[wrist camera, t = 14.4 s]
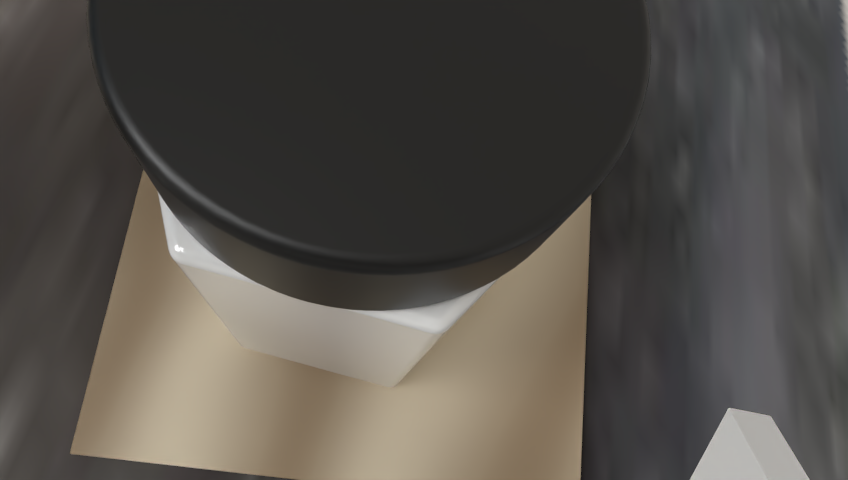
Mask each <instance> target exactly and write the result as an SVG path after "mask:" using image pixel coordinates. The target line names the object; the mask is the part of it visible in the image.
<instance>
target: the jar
mask: <svg viewBox="0 0 848 480" xmlns="http://www.w3.org/2000/svg"><path fill="white" fill-rule="evenodd" d="M86 17H87V32H88V42H89V48H90V53H91V59H92V64H93V68H94V72H95V75H96V79H97V82H98V86H99V88H100V91H101V93H102V96H103V99H104V101H105V104H106V106H107V108H108V110H109V112H110V114H111V116H112V118H113V121H114V122H115V124H116V126H117V128H118V129H119V131H120V133H121V134H122V136H123V138H124V140H125V141H126V143H127V144H128V146H129V147H130V149H131V150H132V152H133V154H134V155H135V157H136V158H137V160H138V161H139V163H140V165H141V166H142V168H143V169H144V171H145V172H146V174H147V175H148V177H149V179H150V180H151V182H152V183H153V185H154V186H155V188H156V190H157V191H158V196H159V201H160V207H161V212H162V218H163V223H164V229H165V234H166V240H167V245H168V250H169V254H170V256H171V257H172V259H173V260H174V261H175V263H176V264H177V265H178V266H179V268H180V269H181V270H182V272H183V273H184V274H185V275H186V277H187V278H188V279H189V280H190V282H191V283H192V284H193V286H194V287H195V288H196V289H197V291H198V292H199V293H200V295H201V296H202V297H203V298H204V300H205V301H206V302H207V303H208V305H209V306H210V307H211V309H212V310H213V311H214V312H215V314H216V315H217V316H218V318H219V319H220V320H221V321H222V323H223V324H224V325H225V327H226V328H227V329H228V330H229V332H230V333H231V334H232V336H233V337H234V338H235V339H236V341H237V342H238V343H239V344H240V346H242V347H243V348H246V349H250V350H254V351H257V352H261V353H265V354H268V355H272V356H276V357H279V358H283V359H286V360H290V361H294V362H297V363H301V364H305V365H308V366H312V367H316V368H319V369H323V370H327V371H330V372H334V373H338V374H341V375H345V376H349V377H352V378H356V379H359V380H363V381H367V382H370V383H374V384H378V385H381V386H385V387H390V388H392V387H395V386H397V385H398V384H399V383H400V382H401V381H402V380H403V379H404V378H405V377H406V376H407V375H408V374H409V373H410V372H411V371H412V370H413V369H414V368H415V367H416V366H417V365H418V364H419V363H420V362H421V361H422V360H423V359H424V358H425V357H426V356H427V355H428V354H429V353H430V352H431V351H432V350H433V349H434V348H435V347H436V346H437V345H438V343H439V342H440V341H441V340H442V339H443V338H444V337H445V336H446V335H447V334H448V333H449V332H450V331H451V330H452V329H453V328H454V327H455V326H456V325H457V324H458V323H459V322H460V321H461V320H462V319H463V318H464V317H465V316H466V315H467V314H468V313H469V312H470V311H471V310H472V309H473V308H474V307H475V306H476V305H477V304H478V303H479V302H480V301H481V300H482V299H483V298H484V297H485V296H486V295H487V294H488V293H489V291H490V290H491V289H492V288H493V287H494V286H495V285H496V284H497V283H498V282H499V281H500V280H501V279H502V278H503V277H504V276H505V275H506V274H507V273H508V272H509V271H510V270H512V269H514V268H515V267H516V266H518V265H519V264H520V263H521V262H523V261H524V260H525V259H527V258H528V257H529V256H530V255H531V254H532V253H533V252H534V251H536V250H537V249H538V248H539V247H540V246H541V245H542V244H543V243H544V242H545V241H546V240H547V239H548V238H549V237H550V236H551V235H552V234H553V233H554V232H555V231H556V230H557V229H558V228H559V227H560V226H561V225H562V224H563V223H564V222H565V221H566V220H567V219H568V218H569V217H570V216H571V215H572V214H573V213H574V212H575V211H576V210H577V209H578V208H579V207H580V205H581V204H582V203H583V202H584V201H585V200H586V199H587V198H588V197H589V196H590V195H591V194H592V193H593V192H594V191H595V190H596V189H597V188H598V187H599V185H600V184H601V183H602V182H603V180H604V179H605V178H606V176H607V175H608V174H609V173H610V171H611V170H612V168H613V167H614V165H615V164H616V162H617V161H618V159H619V158H620V156H621V154H622V152H623V151H624V149H625V147H626V145H627V143H628V141H629V139H630V137H631V135H632V132H633V130H634V128H635V126H636V123H637V120H638V118H639V115H640V112H641V109H642V106H643V103H644V99H645V94H646V90H647V85H648V81H649V72H650V63H651V31H650V22H649V13H648V9H647V4H646V0H87V11H86Z"/></svg>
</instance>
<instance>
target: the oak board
mask: <svg viewBox="0 0 848 480" xmlns="http://www.w3.org/2000/svg"><path fill="white" fill-rule="evenodd" d="M590 215H591V195H590V196H589V197H588V198H587V199H586V200H585V201H584V202H583V203H582V204H581V205H580V207H579V208H578V209H577V210H576V211H575V212H574V213H573V214H572V215H571V216H570V217H569V218H568V219H567V220H566V221H565V222H564V223H563V224H562V225H561V226H560V227H559V228H558V229H557V230H556V231H555V232H554V233H553V234H552V235H551V236H550V237H549V238H548V239H547V240H546V241H545V242H544V243H543V244H542V245H541V246H540V247H539V248H538V249H537V250H536V251H534V252H533V253H532V254H531V255H530V256H529V257H528V258H527V259H525V260H524V261H523V262H521V263H520V264H519V265H518V266H516V267H515V268H514V269H512V270H510V271H509V272H508V273H507V274H506V275H505V276H504V277H503V278H502V279H501V280H500V281H499V282H498V283H497V284H496V285H495V286H494V287H493V288H492V289H491V290H490V291H489V293H488V294H487V295H486V296H485V297H484V298H483V299H482V300H481V301H480V302H479V303H478V304H477V305H476V306H475V307H474V308H473V309H472V310H471V311H470V312H469V313H468V314H467V315H466V316H465V317H464V318H463V319H462V320H461V321H460V322H459V323H458V324H457V325H456V326H455V327H454V328H453V329H452V330H451V331H450V332H449V333H448V334H447V335H446V336H445V337H444V338H443V339H442V340H441V341H440V342H439V343H438V345H437V346H436V347H435V348H434V349H433V350H432V351H431V352H430V353H429V354H428V355H427V356H426V357H425V358H424V359H423V360H422V361H421V362H420V363H419V364H418V365H417V366H416V367H415V368H414V369H413V370H412V371H411V372H410V373H409V374H408V375H407V376H406V377H405V378H404V379H403V380H402V381H401V382H400V383H399V384H398V385H397V386H395V387H392V388H390V387H385V386H381V385H378V384H374V383H370V382H367V381H363V380H359V379H356V378H352V377H349V376H345V375H341V374H338V373H334V372H330V371H327V370H323V369H319V368H316V367H312V366H308V365H305V364H301V363H297V362H294V361H290V360H286V359H283V358H279V357H276V356H272V355H268V354H265V353H261V352H257V351H254V350H250V349H246V348H243V347H242V346H240V344H239V343H238V342H237V341H236V339H235V338H234V337H233V336H232V334H231V333H230V332H229V330H228V329H227V328H226V327H225V325H224V324H223V323H222V321H221V320H220V319H219V318H218V316H217V315H216V314H215V312H214V311H213V310H212V309H211V307H210V306H209V305H208V303H207V302H206V301H205V300H204V298H203V297H202V296H201V295H200V293H199V292H198V291H197V289H196V288H195V287H194V286H193V284H192V283H191V282H190V280H189V279H188V278H187V277H186V275H185V274H184V273H183V272H182V270H181V269H180V268H179V266H178V265H177V264H176V263H175V261H174V260H173V259H172V257H171V256H170V254H169V250H168V245H167V240H166V234H165V229H164V223H163V218H162V212H161V207H160V201H159V196H158V191H157V190H156V188H155V186H154V185H153V183H152V182H151V180H150V179H149V177H148V175H147V174H146V172H145V171H144V169H143V173H142V176H141V180H140V184H139V188H138V192H137V196H136V200H135V203H134V207H133V211H132V215H131V219H130V223H129V227H128V230H127V234H126V238H125V242H124V246H123V250H122V254H121V257H120V261H119V265H118V269H117V273H116V277H115V281H114V285H113V288H112V292H111V296H110V300H109V304H108V308H107V312H106V315H105V319H104V323H103V327H102V331H101V335H100V339H99V342H98V346H97V350H96V354H95V358H94V362H93V366H92V369H91V373H90V377H89V381H88V385H87V389H86V393H85V397H84V400H83V404H82V408H81V412H80V416H79V420H78V424H77V427H76V431H75V435H74V439H73V443H72V447H71V451H70V454H76V455H85V456H94V457H103V458H112V459H120V460H129V461H138V462H147V463H156V464H164V465H173V466H182V467H191V468H200V469H208V470H217V471H226V472H235V473H244V474H252V475H261V476H270V477H279V478H288V479H296V480H580V478H581V452H582V426H583V399H584V373H585V347H586V320H587V294H588V267H589V241H590Z"/></svg>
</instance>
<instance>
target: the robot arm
mask: <svg viewBox="0 0 848 480" xmlns="http://www.w3.org/2000/svg"><path fill="white" fill-rule="evenodd" d="M690 480H810V479H809V478H808V476H807V474H806V473H805V471H804V470H803V468H802V466H801V465H800V463H799V461H798V460H797V458H796V457H795V455H794V453H793V452H792V450H791V448H790V447H789V445H788V443H787V442H786V440H785V439H784V437H783V435H782V434H781V432H780V430H779V429H778V427H777V426H776V424H775V422H774V421H773V419H772V417H771V416H769V415H764V414H759V413H754V412H749V411H744V410H739V409H733V408H728V410H727V412H726V414H725V416H724V417H723V419H722V421H721V423H720V425H719V427H718V429H717V430H716V432H715V434H714V436H713V438H712V440H711V441H710V443H709V445H708V447H707V449H706V451H705V453H704V454H703V456H702V458H701V460H700V462H699V464H698V465H697V467H696V469H695V471H694V473H693V475H692V477H691V478H690Z"/></svg>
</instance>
